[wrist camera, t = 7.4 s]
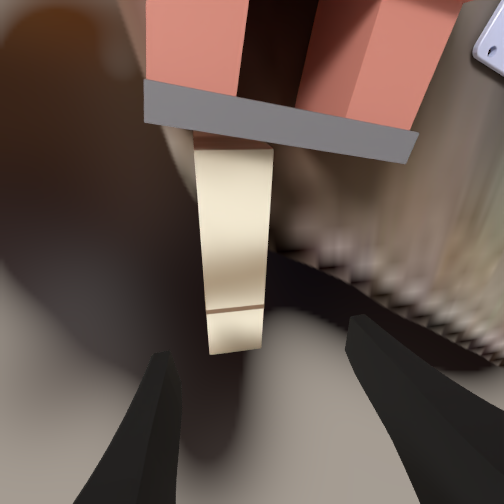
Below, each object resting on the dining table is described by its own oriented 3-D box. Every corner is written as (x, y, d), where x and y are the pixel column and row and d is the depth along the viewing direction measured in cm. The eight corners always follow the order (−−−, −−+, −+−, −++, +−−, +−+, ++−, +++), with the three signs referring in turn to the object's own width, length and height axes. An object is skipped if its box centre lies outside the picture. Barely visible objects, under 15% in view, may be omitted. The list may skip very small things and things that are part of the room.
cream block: (192, 127, 16) (193, 150, 11) (250, 127, 16) (274, 149, 12) (205, 296, 22) (209, 355, 17) (247, 292, 23) (261, 348, 18)
